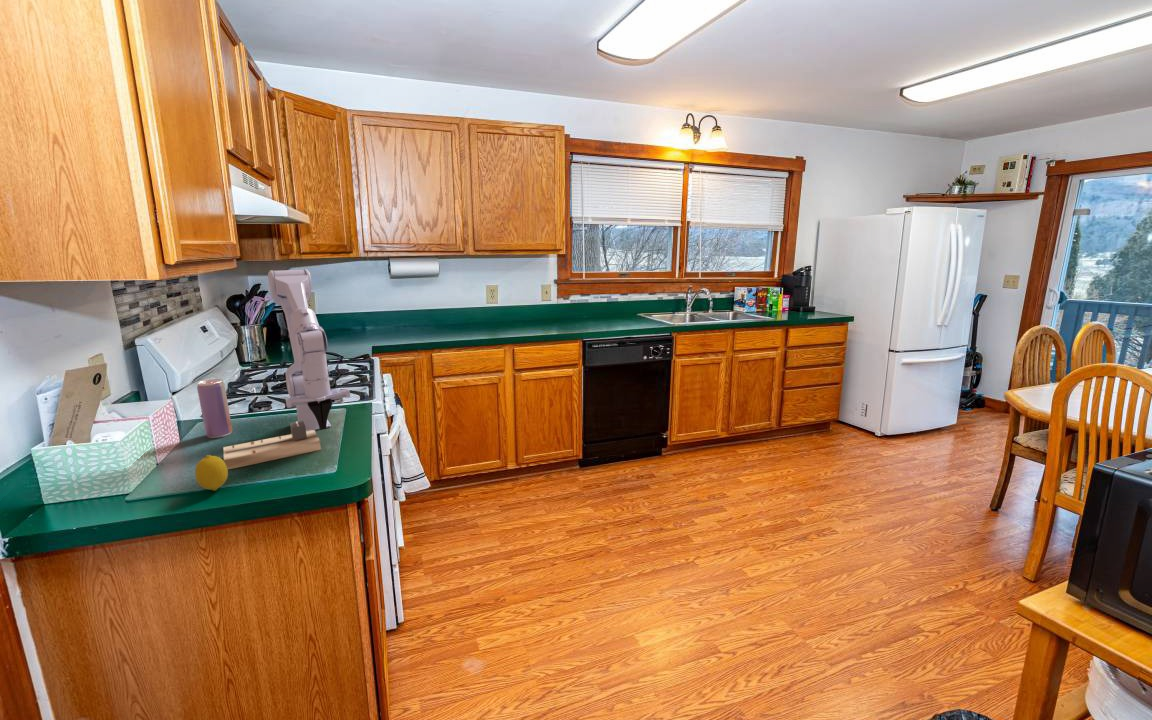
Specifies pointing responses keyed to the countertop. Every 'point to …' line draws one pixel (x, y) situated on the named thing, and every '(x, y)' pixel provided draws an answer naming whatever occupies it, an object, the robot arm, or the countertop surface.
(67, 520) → the countertop surface
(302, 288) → the robot arm
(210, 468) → the lemon
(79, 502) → the countertop surface
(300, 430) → the fader
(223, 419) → the beverage can
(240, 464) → the console
